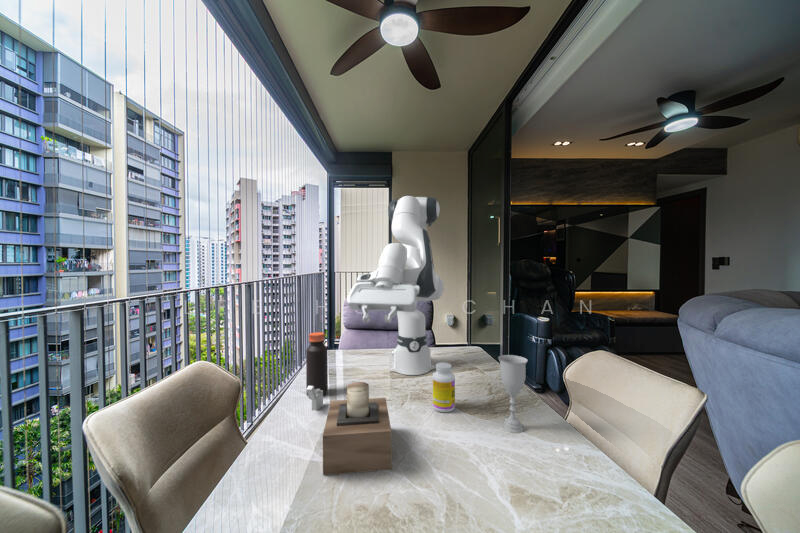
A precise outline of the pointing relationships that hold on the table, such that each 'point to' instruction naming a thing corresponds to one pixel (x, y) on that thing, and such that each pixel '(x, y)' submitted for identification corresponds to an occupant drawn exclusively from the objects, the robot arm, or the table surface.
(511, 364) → the chalice
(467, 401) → the table surface
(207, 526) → the table surface
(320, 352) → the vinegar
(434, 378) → the supplement bottle
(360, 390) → the peg
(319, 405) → the lighter
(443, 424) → the table surface
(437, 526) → the table surface
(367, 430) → the block
